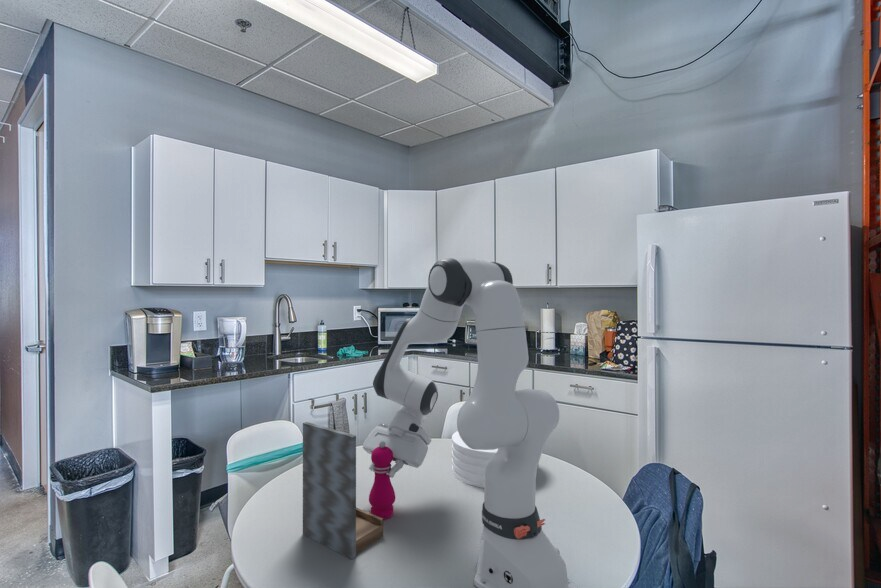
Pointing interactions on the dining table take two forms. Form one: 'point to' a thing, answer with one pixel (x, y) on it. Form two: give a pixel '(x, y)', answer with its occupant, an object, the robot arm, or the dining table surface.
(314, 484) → the ledge shelf
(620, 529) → the dining table surface
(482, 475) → the plate stack
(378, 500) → the pepper mill
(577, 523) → the dining table surface
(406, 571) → the dining table surface
